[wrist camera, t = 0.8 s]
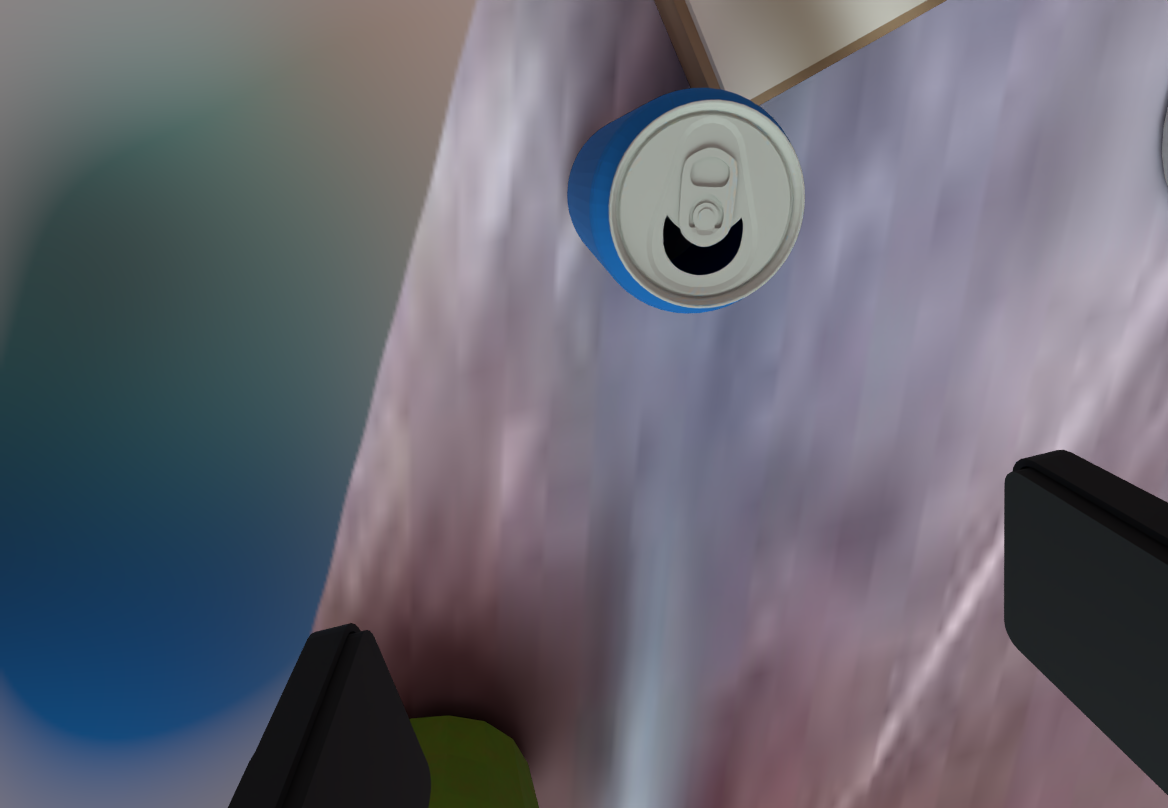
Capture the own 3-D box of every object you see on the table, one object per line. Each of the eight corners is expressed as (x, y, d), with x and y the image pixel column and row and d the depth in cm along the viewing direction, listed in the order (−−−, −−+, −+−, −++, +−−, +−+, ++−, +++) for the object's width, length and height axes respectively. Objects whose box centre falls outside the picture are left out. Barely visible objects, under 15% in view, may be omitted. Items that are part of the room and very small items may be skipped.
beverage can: (564, 265, 30) (589, 321, 19) (568, 113, 28) (598, 75, 17) (700, 268, 31) (802, 324, 20) (714, 119, 29) (838, 87, 18)
